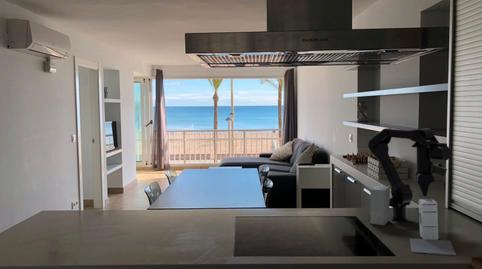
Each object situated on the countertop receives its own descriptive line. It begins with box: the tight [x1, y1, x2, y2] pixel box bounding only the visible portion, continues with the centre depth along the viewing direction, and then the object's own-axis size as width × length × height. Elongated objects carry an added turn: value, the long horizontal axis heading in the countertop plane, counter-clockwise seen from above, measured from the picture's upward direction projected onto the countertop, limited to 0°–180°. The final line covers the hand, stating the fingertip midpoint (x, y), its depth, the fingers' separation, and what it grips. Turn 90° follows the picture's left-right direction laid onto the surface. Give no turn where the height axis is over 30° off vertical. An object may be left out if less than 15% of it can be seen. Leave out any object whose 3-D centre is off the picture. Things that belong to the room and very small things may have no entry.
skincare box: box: [369, 185, 391, 226], centre depth 184 cm, size 8×7×16 cm
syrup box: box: [418, 198, 439, 240], centre depth 161 cm, size 6×6×14 cm
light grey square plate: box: [409, 238, 457, 257], centre depth 150 cm, size 15×14×1 cm
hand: (424, 195), depth 176 cm, fingers open, 4 cm apart
